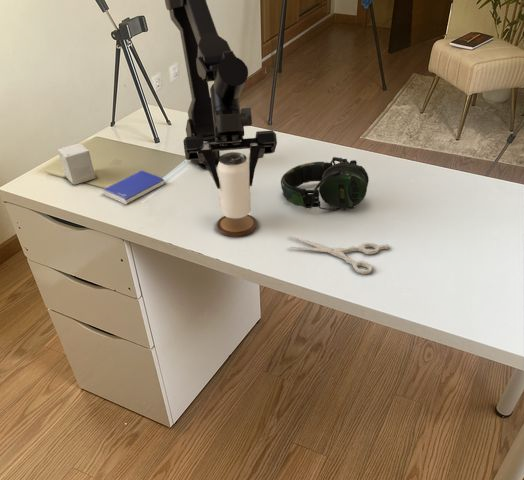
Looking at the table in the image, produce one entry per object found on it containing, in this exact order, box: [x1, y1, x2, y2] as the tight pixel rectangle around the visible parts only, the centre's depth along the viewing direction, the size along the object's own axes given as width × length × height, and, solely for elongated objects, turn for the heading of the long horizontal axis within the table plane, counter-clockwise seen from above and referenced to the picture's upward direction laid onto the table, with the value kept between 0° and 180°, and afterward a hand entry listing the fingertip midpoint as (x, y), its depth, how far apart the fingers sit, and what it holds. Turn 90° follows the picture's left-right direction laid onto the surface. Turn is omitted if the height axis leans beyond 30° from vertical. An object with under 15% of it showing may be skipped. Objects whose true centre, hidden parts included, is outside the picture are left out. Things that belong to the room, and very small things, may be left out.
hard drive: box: [102, 170, 165, 205], centre depth 130 cm, size 2×8×12 cm
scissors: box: [291, 236, 390, 275], centre depth 108 cm, size 11×1×20 cm
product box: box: [57, 142, 97, 186], centre depth 133 cm, size 6×6×7 cm
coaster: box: [216, 214, 258, 238], centre depth 117 cm, size 9×9×1 cm
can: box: [216, 151, 252, 219], centre depth 110 cm, size 6×6×12 cm
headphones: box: [280, 156, 370, 211], centre depth 121 cm, size 13×13×20 cm
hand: (234, 186), depth 109 cm, fingers closed on can, 6 cm apart
